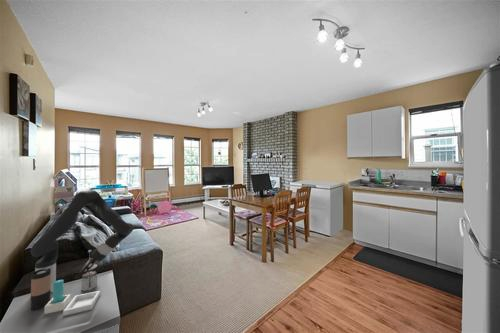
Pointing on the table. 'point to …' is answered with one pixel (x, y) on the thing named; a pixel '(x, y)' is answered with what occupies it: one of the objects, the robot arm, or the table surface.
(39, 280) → the travel mug
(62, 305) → the square box
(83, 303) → the tray
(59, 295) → the dowel
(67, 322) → the table surface
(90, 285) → the french press
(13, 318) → the table surface
